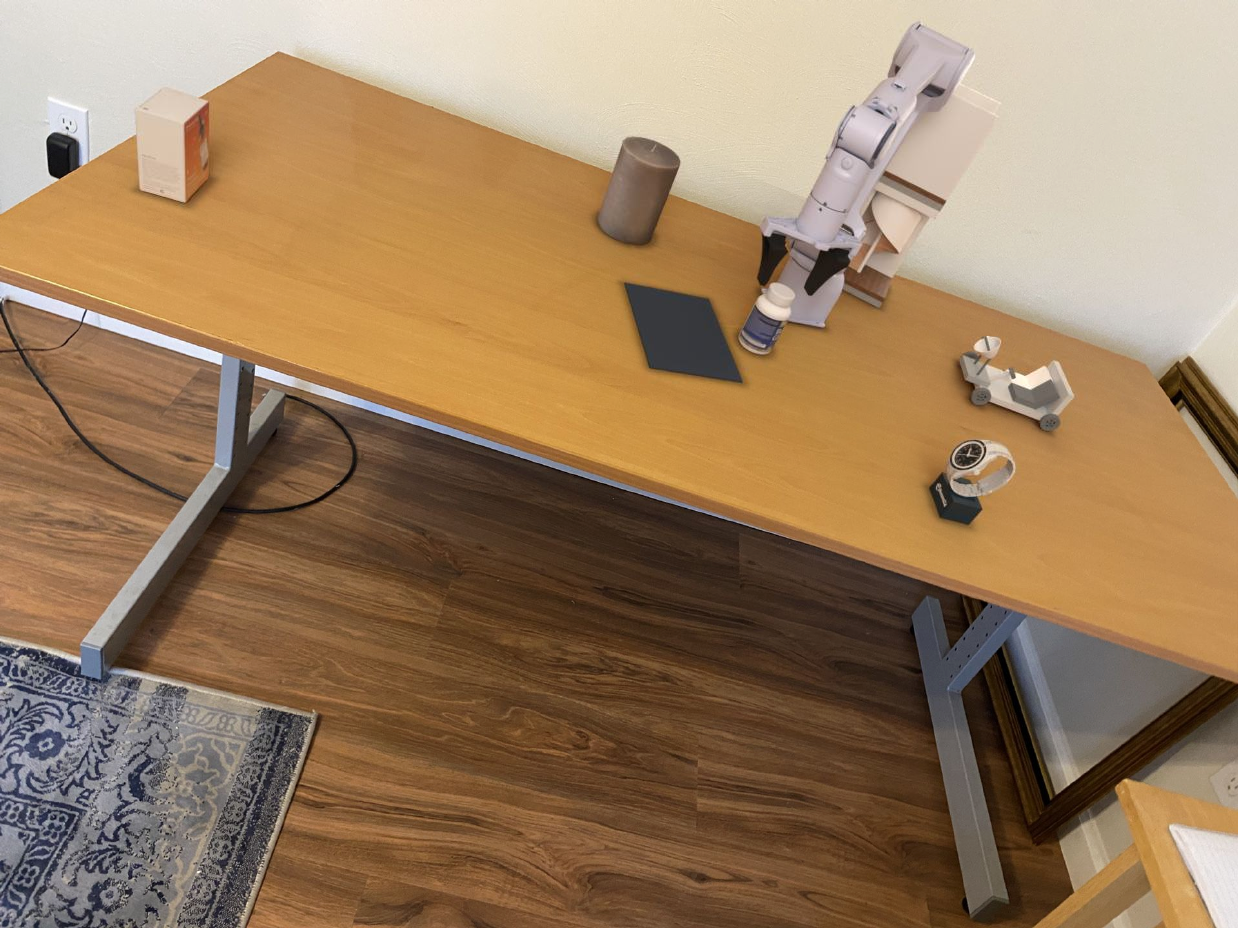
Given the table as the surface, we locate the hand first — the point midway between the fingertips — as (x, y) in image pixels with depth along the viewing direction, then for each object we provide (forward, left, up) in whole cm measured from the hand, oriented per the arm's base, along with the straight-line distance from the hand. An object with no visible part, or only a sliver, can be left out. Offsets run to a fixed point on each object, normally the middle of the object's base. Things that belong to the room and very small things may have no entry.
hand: (784, 287), depth 119 cm
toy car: (-45, +2, -10) cm, 46 cm away
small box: (+80, -13, -10) cm, 82 cm away
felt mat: (+12, 0, -10) cm, 16 cm away
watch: (-20, +30, -10) cm, 38 cm away
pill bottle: (0, 0, -10) cm, 10 cm away
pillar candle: (+16, -27, -10) cm, 33 cm away
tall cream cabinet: (-29, -26, -10) cm, 40 cm away
